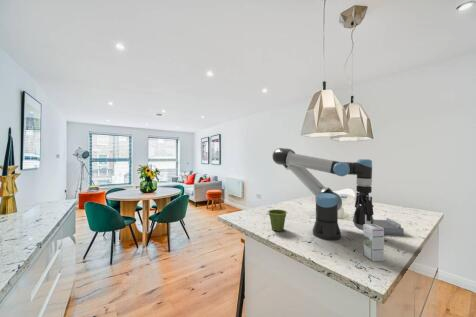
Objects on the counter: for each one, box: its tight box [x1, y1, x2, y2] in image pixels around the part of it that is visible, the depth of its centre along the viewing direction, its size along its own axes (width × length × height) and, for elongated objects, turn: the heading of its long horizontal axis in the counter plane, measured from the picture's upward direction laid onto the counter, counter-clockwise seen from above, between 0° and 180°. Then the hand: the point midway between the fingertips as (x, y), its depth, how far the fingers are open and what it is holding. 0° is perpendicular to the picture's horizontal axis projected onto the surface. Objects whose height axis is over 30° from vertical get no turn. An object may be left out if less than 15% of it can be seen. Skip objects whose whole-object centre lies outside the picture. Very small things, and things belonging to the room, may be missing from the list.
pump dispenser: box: [352, 203, 374, 231], centre depth 116 cm, size 10×10×15 cm
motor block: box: [373, 217, 405, 237], centre depth 125 cm, size 16×20×6 cm
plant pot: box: [267, 209, 288, 232], centre depth 124 cm, size 12×12×11 cm
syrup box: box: [362, 224, 385, 262], centre depth 88 cm, size 6×6×14 cm
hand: (363, 223), depth 116 cm, fingers closed on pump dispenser, 10 cm apart
